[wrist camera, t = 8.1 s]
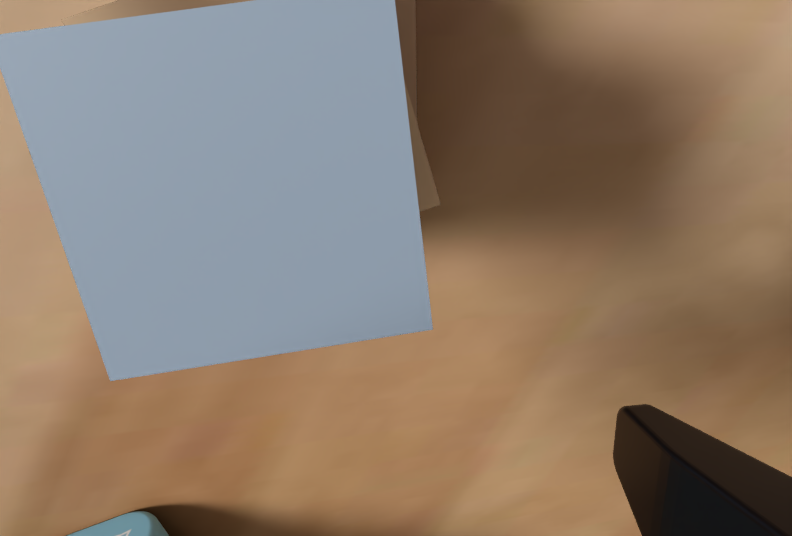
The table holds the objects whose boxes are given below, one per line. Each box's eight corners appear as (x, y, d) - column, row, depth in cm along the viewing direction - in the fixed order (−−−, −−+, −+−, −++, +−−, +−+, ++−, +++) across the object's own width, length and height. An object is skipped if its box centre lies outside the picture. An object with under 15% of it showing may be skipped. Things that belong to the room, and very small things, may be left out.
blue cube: (368, -11, 13) (392, -19, 8) (398, 227, 15) (433, 330, 10) (113, 24, 12) (-12, 36, 8) (179, 260, 14) (110, 380, 10)
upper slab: (350, -66, 15) (357, -81, 12) (421, 172, 17) (441, 204, 15) (108, 16, 15) (61, 19, 12) (212, 241, 17) (192, 287, 15)
